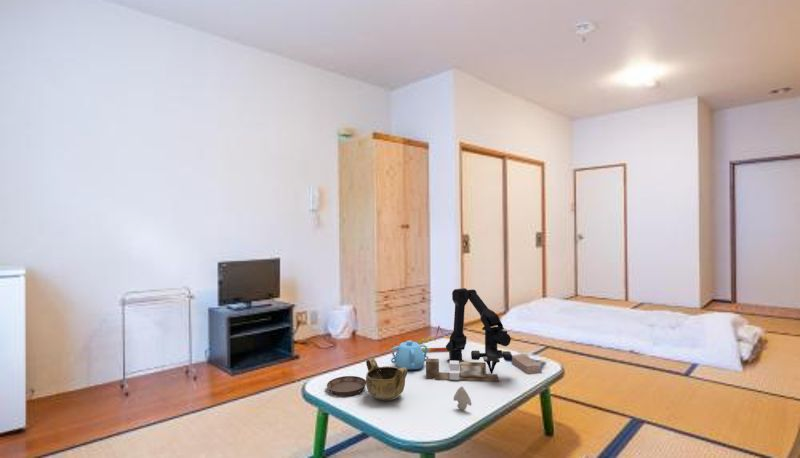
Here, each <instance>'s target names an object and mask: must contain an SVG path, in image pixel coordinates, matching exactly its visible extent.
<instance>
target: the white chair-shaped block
mask: <svg viewBox="0 0 800 458" xmlns="http://www.w3.org/2000/svg"><path fill="white" fill-rule="evenodd" d="M449 373H450V380H449V381H451V380H459V373H460V363H459V361H450V362H449Z"/></svg>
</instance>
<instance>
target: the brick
mask: <svg viewBox="0 0 800 458" xmlns="http://www.w3.org/2000/svg"><path fill="white" fill-rule="evenodd" d="M511 364H512V365H513V366H514V367H516V368H517V369H519V370H520V371H522V372H523V373H525V374H527V375H536V374H542V370H543V369H542V364H540V363H539V362H538V361H535V360H533V359H532V358H530V357H529V356H528V355H527V354H517V355H512V361H511Z"/></svg>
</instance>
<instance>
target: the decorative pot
mask: <svg viewBox="0 0 800 458" xmlns="http://www.w3.org/2000/svg"><path fill="white" fill-rule="evenodd" d="M418 343H419V342H416V341H414V340H406V341H404V342H401V343H400V344H399V345H396V346H395V345H394V346H393V347H392V348H391V353H392V356H393V357H392V358H391V359H390V362H391V363H392V364H396V365H397V367H398V368H403V367H405V368H406V369H407V370H417V371H419V370H420V369H421V368H422V367H423V366H424V364H425V363H426V359H427V358H428V359H429V356H428V355H427V350H428V349H427V348H428V346H427V345H425V344H420V345H419V344H418ZM422 347H423V348H425V353H423V351H422V349H421V348H422ZM396 349H397V350H396ZM395 350H396V353H395Z"/></svg>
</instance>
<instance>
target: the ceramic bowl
mask: <svg viewBox="0 0 800 458" xmlns="http://www.w3.org/2000/svg"><path fill="white" fill-rule="evenodd" d="M365 362H366V363H365V364H366V367H367V368H366V369H367V370H368V371H367V373H366V375H365V380H366V385H365V387H366V389H367V392H368V393H369V394H370V396H371V397H373V398H374V399H376V400H379V401H385V402H388V401H392V400H395V399H397V398H399V396H400V395H401V394H402V393H403V391H404V389H405V386H406V378H407V375H408V369H406V368H405V367H403V368H399V367H398V366H397V367H396V366H389V365H388V366H387V365H386V366H379V365H378V363H377V360H376V359H375V358H374V357H372V358H368V359H367V360H366V361H365Z"/></svg>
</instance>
